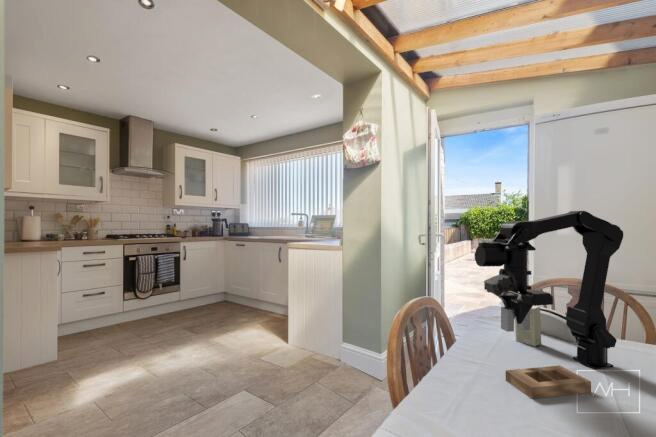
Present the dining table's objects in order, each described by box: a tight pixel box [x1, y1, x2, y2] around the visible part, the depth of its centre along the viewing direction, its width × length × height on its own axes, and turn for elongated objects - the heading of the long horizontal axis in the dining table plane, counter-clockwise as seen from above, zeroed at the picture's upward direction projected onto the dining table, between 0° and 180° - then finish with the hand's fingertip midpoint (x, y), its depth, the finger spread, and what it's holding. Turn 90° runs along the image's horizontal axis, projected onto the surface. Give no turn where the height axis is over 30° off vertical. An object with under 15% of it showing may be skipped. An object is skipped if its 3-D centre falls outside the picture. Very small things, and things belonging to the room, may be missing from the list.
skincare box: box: [514, 305, 542, 347], centre depth 101 cm, size 6×4×12 cm
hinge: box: [539, 306, 579, 343], centre depth 109 cm, size 17×5×10 cm, turn 24°
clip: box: [500, 306, 530, 333], centre depth 85 cm, size 7×2×6 cm, turn 100°
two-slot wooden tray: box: [505, 364, 592, 400], centre depth 74 cm, size 16×8×2 cm, turn 100°
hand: (515, 322), depth 85 cm, fingers closed on clip, 2 cm apart
